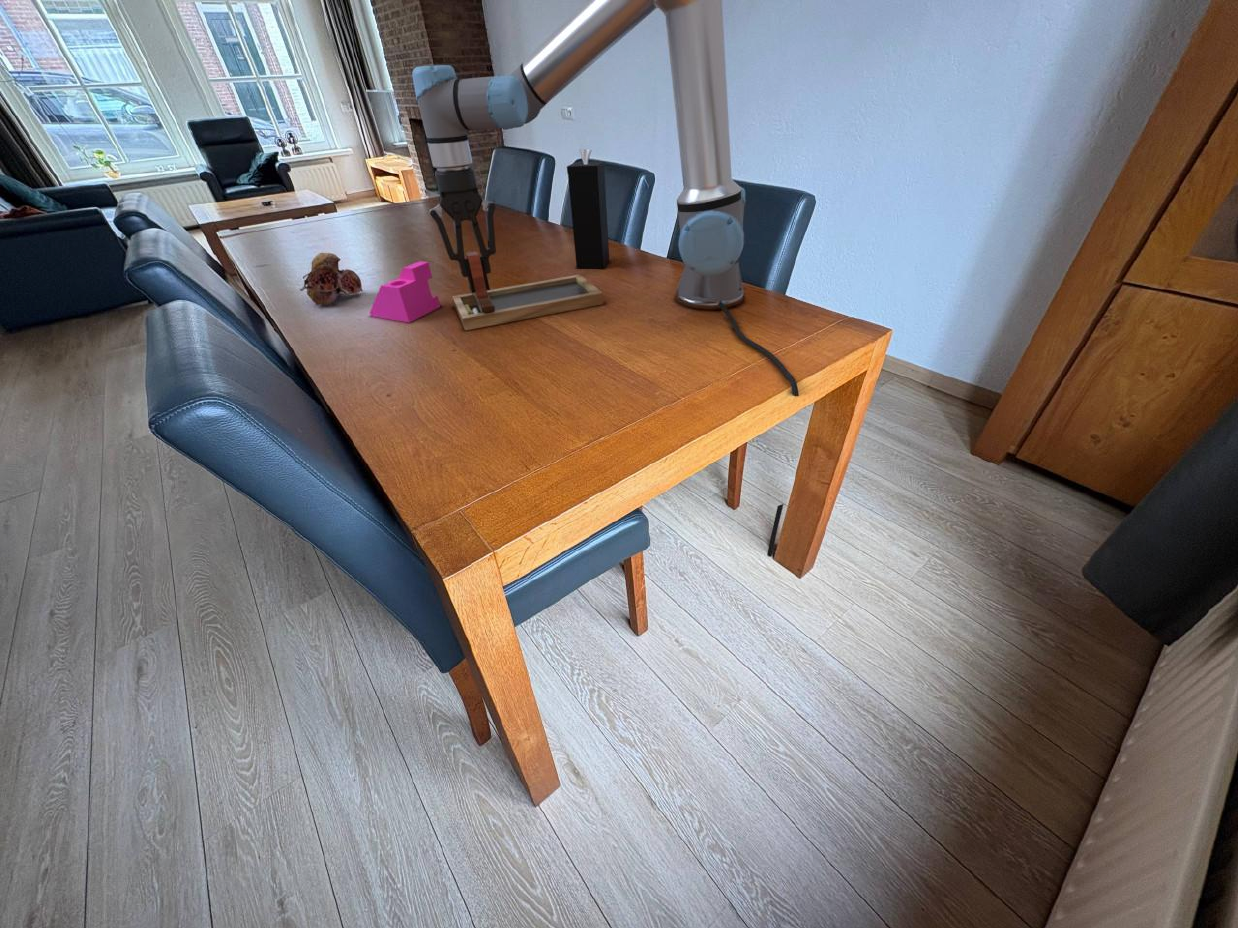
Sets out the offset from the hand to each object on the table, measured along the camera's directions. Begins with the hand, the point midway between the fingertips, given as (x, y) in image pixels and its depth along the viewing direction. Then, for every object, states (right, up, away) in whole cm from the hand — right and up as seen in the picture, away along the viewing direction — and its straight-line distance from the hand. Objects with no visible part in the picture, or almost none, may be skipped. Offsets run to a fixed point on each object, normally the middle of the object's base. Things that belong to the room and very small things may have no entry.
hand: (480, 289), depth 110 cm
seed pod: (-41, +3, +16) cm, 44 cm away
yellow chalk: (-4, -4, +3) cm, 6 cm away
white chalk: (-1, -5, +1) cm, 5 cm away
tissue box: (+24, +18, +30) cm, 42 cm away
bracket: (-19, -3, +7) cm, 21 cm away
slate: (+10, -2, +6) cm, 12 cm away
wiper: (0, -3, +2) cm, 4 cm away
